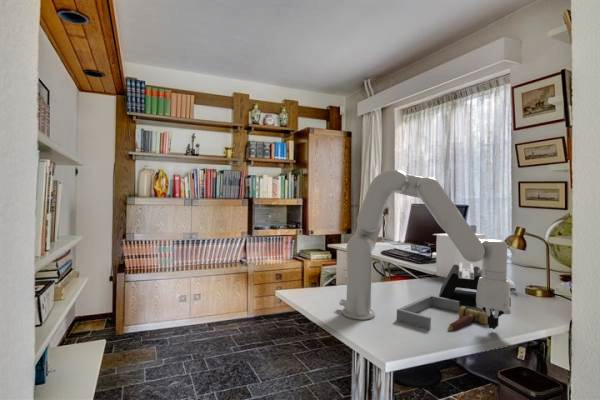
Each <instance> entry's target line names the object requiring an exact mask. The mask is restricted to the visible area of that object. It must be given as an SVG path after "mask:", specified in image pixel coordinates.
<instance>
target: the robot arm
mask: <svg viewBox="0 0 600 400" xmlns="http://www.w3.org/2000/svg"><path fill="white" fill-rule="evenodd" d="M366 191H367V192H366V193H365V196H364V199H363V202H362V205H361V207H360V210H359V212H358V215H357V216H356V217H357V218H356V224H357V227H356V230H355V232H354V234H353V235H352V236H351V237H350V238H349V240H348V241H347V244H346V252H345V254H346V266H347V267H346V299H345V298H341V299H340V302H339V305H340V306H343V309H342V315H343V316H344V317H346V318H349V319H353V320H360V321H361V320H362V321H363V320H371V319H373V318H375V316H376V312H375V310H374V309H372V271H373V269H372V268H373V267H372V266H373V265H372V264H373V263H372V252H373V251H374V249H375V247H376V243H377V240H378V239H379V235H380V233H381V229H382V226H383V224H384V216H383V214H384V212H385V208H386V206H387V204H388V200H389V198H390V196H391V194H393V193H394V194H395V193H396V194H400V195H404V196H409V197H413V198H417V199H420V200H421V202H422V204H424V206H425V207H426V209H427V210H428V211H429V213H430V214H431V215H432V217H433V218H434V220H435V222H436V223H437V224H438V225H439V226H440V228H441V229H442V230H443V231H444V232H445V233H447V235H448V236H449V237H450V239H451V240H452V242H453V243H454V244H455V246H456V247H457V249H458V250H459V252H460V253H461V255H462V256H463V258H465V259H466V260H467V261H470V262H477V261H480V260H481V259H482V269H481V270H478V273H479V274H481V276H482V277H479V281H478V286H477V291H476V292H477V293H476V304H477V305H476V306H477V307H476V308H477V309H481V310H482V312H485V313H486V315H487V316H488V324H487V325H488V328H489V329H492V330H495V329H497V327H499V317H501V316H502V315H511V314H512V310H511V307H512V296H511V289H510V286H509V281H508V280H507V277H508V275H507V273H508V272H507V271H508V270H507V269H508V264H507V261H508V248H507V243H506V242H505V241H504V240H501V239H491V238H490V239H485V240H483V239H478V237H477V236H476V235H475V234H476V232H474V230H473V229H472V228H471V226H470V225H469V223H468V222H467V221H466V219H465V218H464V216H463V214H462V212H461V211H460V210H459V208H458V207H457V206H456V205H455V203H454V202H453V200H452V199H451V197H450V196H449V195H448V193H447V192H446V190H445V189H444V188H443V186H442V185H441V183H440V182H439V181H438V180H437V179H436V178H434V177H431V176H425V177H424V176H419V175H414V174H409V173H405V172H404V171H402V170H400V169H390V170H386V171H383V172H381V173H380V174H379V173H378V175H376V176H375V177H374V178H373V180H372V181H371V182H370V184H369V186H368V189H367V190H366ZM493 309H494V313H493Z"/></svg>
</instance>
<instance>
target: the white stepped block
mask: <svg viewBox="0 0 600 400" xmlns="http://www.w3.org/2000/svg"><path fill="white" fill-rule="evenodd" d="M475 235H476V236H477V237H478V239H483V240H486V234H483V233H475ZM432 236H436V242H435V245H436V246H435V247H436V249H435V250H436V251H434V252H431V259H435V260H436V261H435V263H436V264H435V268H436V270H435V272H436V273H435V274H436V275H435V276H438V277H442V278H445V279H446V278H447V276H448V274H449V272H450V270H451V269H452V267H453V265H458V266H459V263H462V264H463V269H470V264H473V268H474V267H479V268H480V270H481V269H482V259H481V260H480V261H477V262H470V261H467V260H466V259H465V258H463V256H462V255H461V253H460V252H459V250H458V249H457V247H456V246H455V244H454V243H453V242H452V240H451V239H450V237H449V236H448V235H447V233H446V232H445V233H433V234H432Z"/></svg>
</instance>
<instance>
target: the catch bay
mask: <svg viewBox="0 0 600 400" xmlns="http://www.w3.org/2000/svg"><path fill="white" fill-rule="evenodd" d="M431 306H432V307H436V308H440V309H444V310H448V311H453V312H457V313H459V309H460V305H459V301H456V300H451V299H446V298H442V297H439V296H437V295H433V294H428V295H426V296H424V297H422V298H420V299H417V300H415V301H413V302H411V303H409V304H406V305H404V306H402V307H399V308H397V309H396V321H398V322H403V323H405V324H409V325H411V326H414V327H415V326H416V327H419V328H422V329H426V330H431V328H432V327H431V326H432V324H431V323H432V317H431V316H427V315H424V314H420V313H419V312H421V311H423V310H425V309H427V308H429V307H431Z"/></svg>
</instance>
